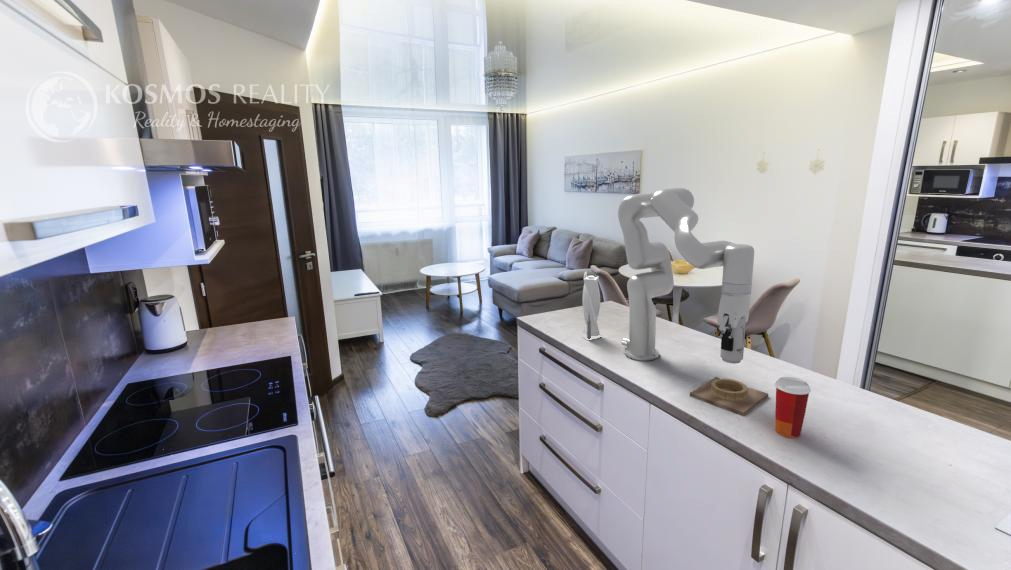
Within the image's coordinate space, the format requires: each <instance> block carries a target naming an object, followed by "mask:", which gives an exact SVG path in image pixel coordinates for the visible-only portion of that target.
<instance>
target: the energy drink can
mask: <svg viewBox="0 0 1011 570" xmlns="http://www.w3.org/2000/svg"><path fill="white" fill-rule="evenodd" d="M746 325H747V322H746V317H745V316H744V315H743V316H742V317H741V319H740V320H739V323H738V327H737V328H735V329H734V332H733V336H732V338H734V340H733V351H727V350H723V349H721V348H720V358H721V360H722V361H723V362H725V363H727V364H728V363H729V364H740V363H741V361H743V360H744V351H745V339H746V328H747V327H746ZM727 327H731V325H729V324H727ZM727 331H728V332H729V333H730V329H727Z"/></svg>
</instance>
